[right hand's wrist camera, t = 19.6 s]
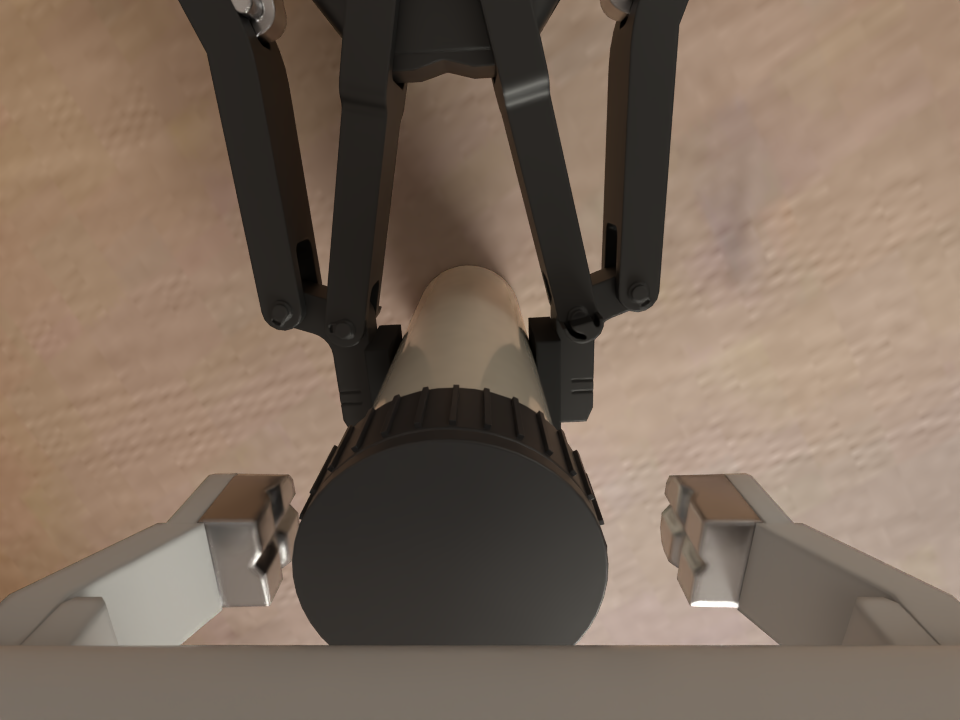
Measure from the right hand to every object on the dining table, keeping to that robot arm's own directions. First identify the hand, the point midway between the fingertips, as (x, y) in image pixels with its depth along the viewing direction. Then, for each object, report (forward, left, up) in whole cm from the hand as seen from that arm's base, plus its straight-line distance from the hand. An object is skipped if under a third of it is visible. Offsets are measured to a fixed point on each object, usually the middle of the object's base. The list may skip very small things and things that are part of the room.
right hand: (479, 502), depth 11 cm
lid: (0, 0, +2) cm, 2 cm away
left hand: (-4, -4, -8) cm, 9 cm away
